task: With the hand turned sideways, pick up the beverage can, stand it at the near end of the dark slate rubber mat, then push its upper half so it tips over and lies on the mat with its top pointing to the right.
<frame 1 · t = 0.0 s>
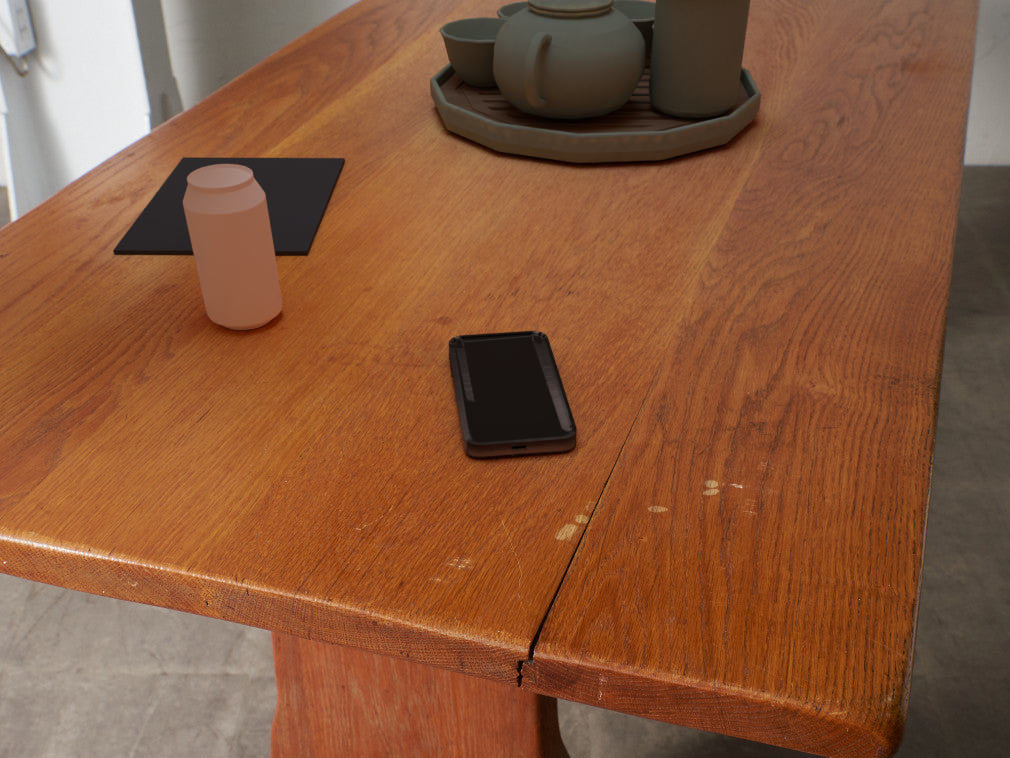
mat: (239, 203, 103), on the table
phone: (508, 398, 74), on the table
tea set: (590, 111, 125), on the table
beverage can: (247, 319, 84), on the table
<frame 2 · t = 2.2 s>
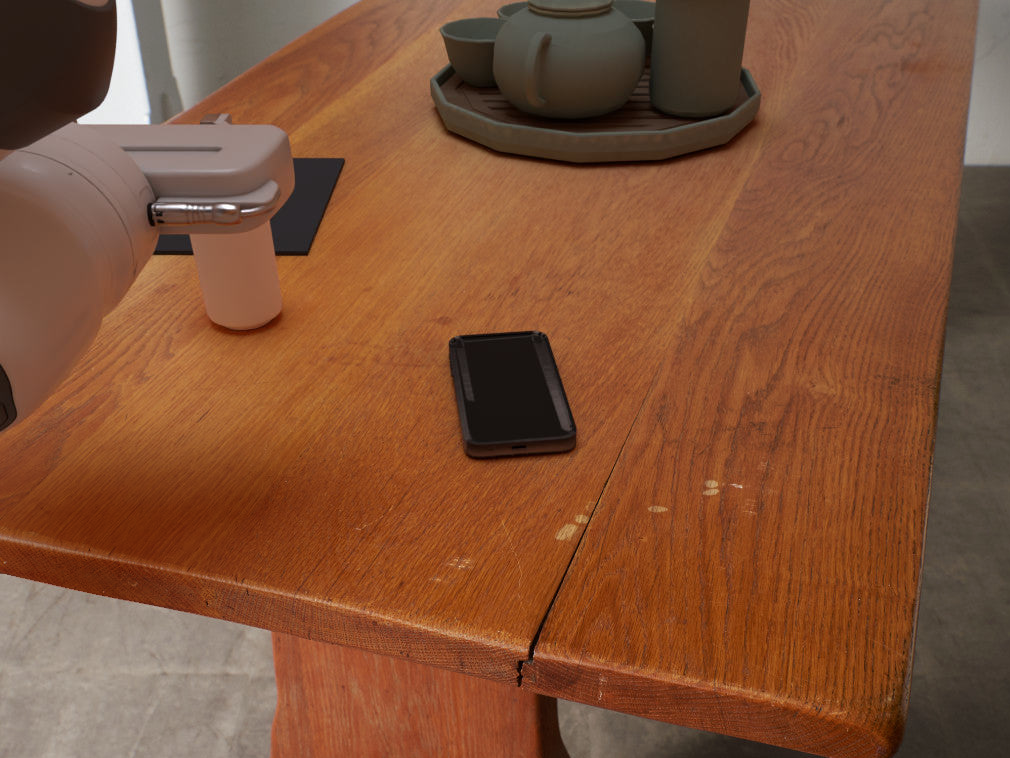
hand: (144, 126, 61), 20 cm above the table, tool horizontal, fingers open, 8 cm apart
nothing on the table moved.
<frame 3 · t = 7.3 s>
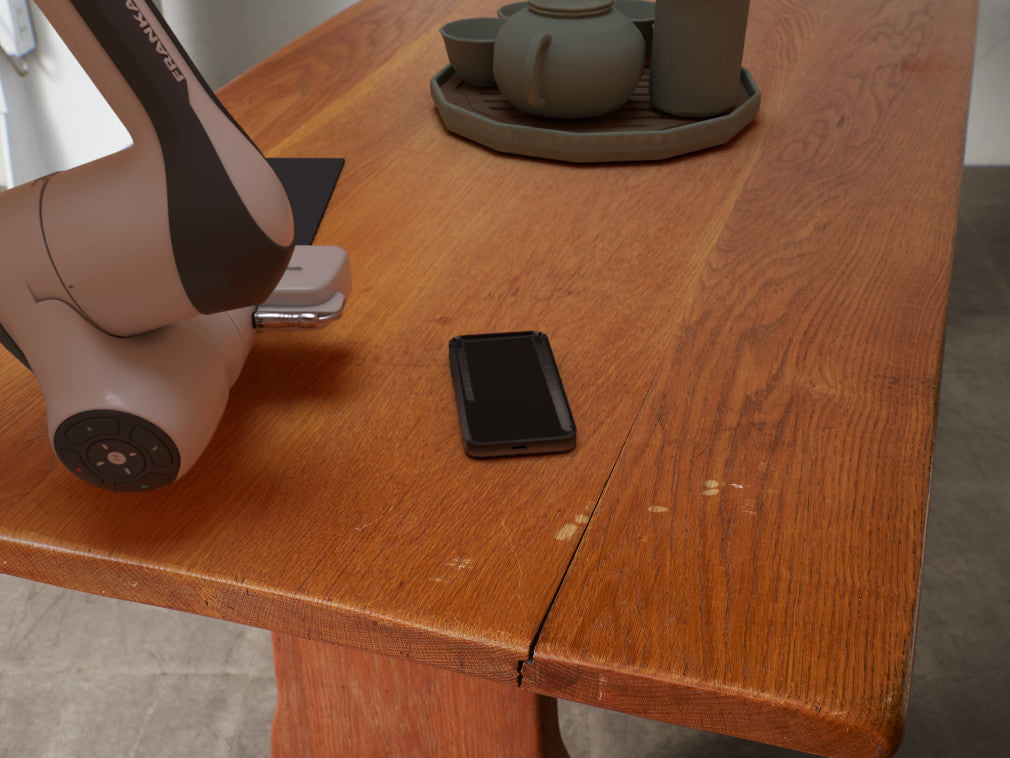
hand: (235, 238, 80), 7 cm above the table, tool horizontal, fingers closed on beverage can, 6 cm apart
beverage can: (247, 319, 84), on the table, touching gripper
everything else where it was.
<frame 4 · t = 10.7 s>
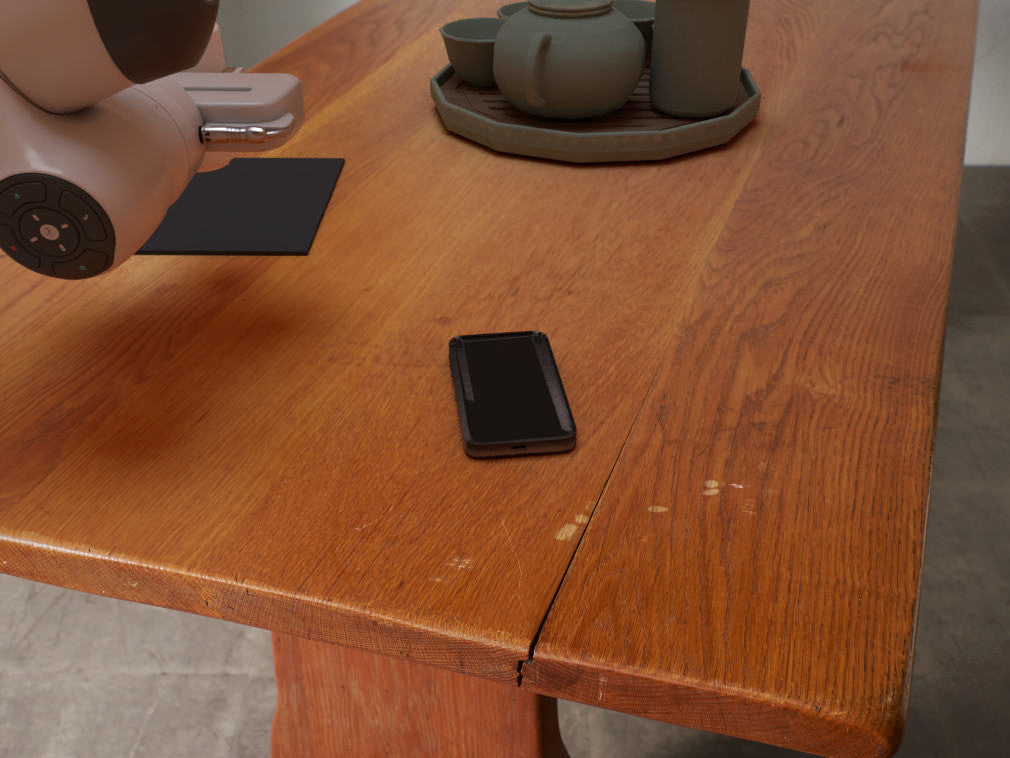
hand: (189, 77, 80), 17 cm above the table, tool horizontal, fingers closed on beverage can, 6 cm apart
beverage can: (203, 165, 83), point 10 cm above the table, touching gripper
everything else where it was.
when the fingers open (7 cm above the table, at t = 14.4 s): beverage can stays where it is, resting on mat.
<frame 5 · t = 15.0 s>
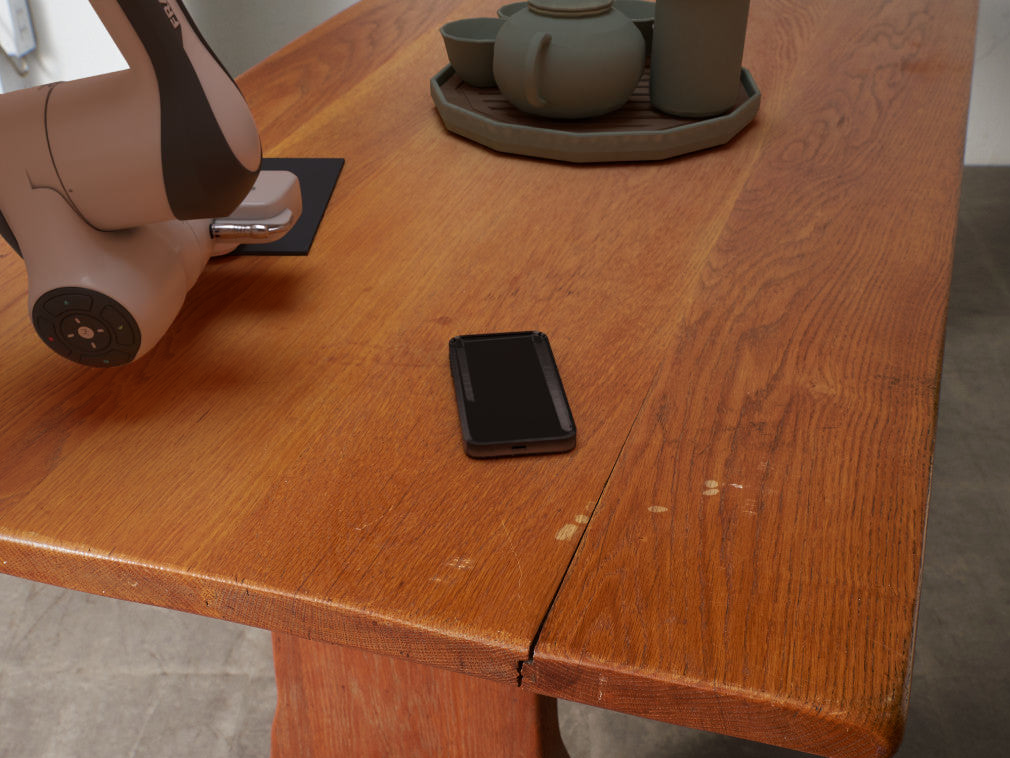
hand: (199, 169, 90), 7 cm above the table, tool horizontal, fingers open, 8 cm apart
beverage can: (214, 248, 94), resting on mat
everything else where it was.
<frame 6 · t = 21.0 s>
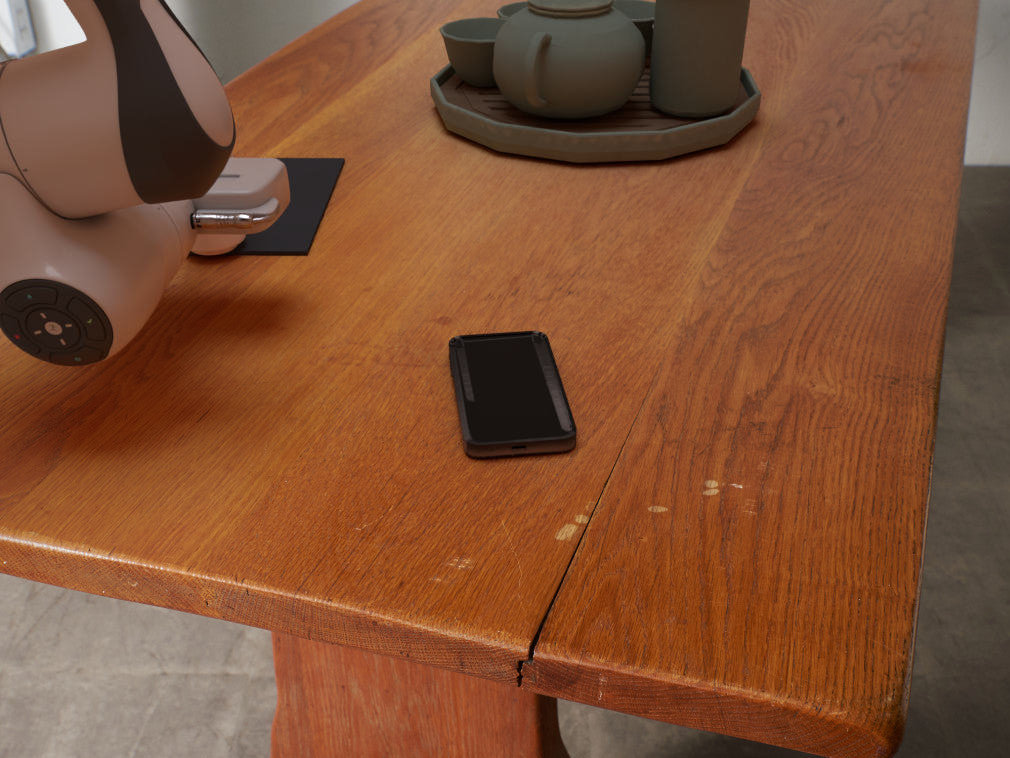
hand: (182, 156, 85), 10 cm above the table, tool horizontal, fingers closed, pressing on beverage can
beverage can: (214, 247, 94), resting on mat, touching gripper
everything else where it was.
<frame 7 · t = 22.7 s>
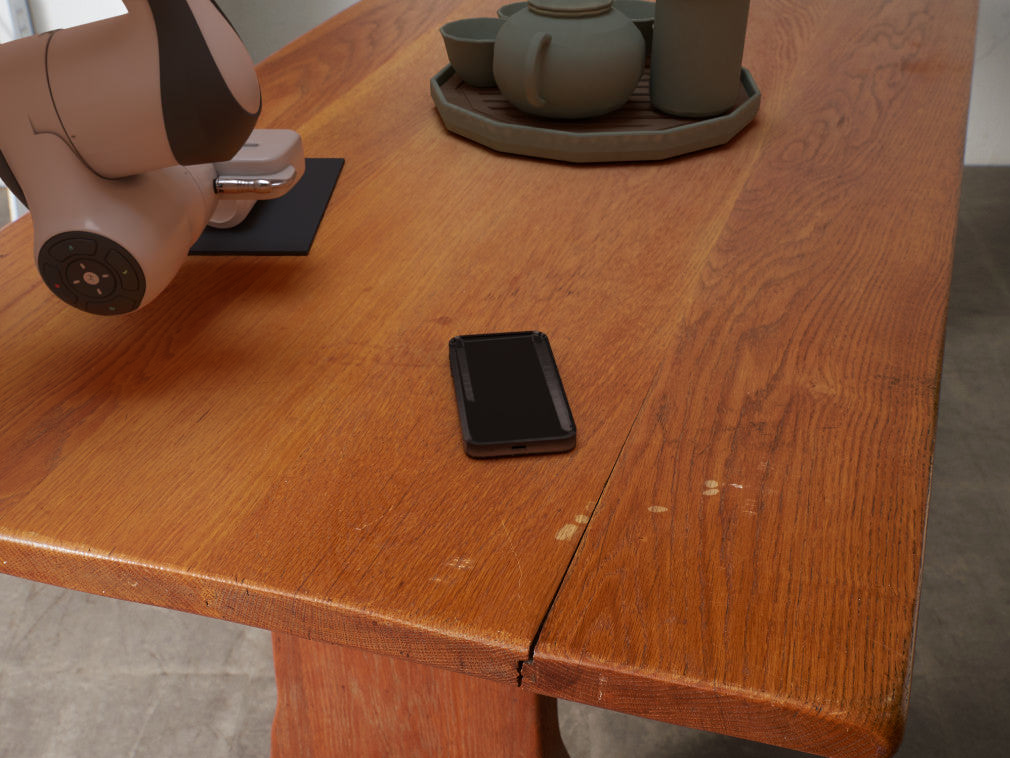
hand: (203, 129, 91), 10 cm above the table, tool horizontal, fingers closed
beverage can: (213, 201, 94), point 4 cm above the table, touching mat
everything else where it was.
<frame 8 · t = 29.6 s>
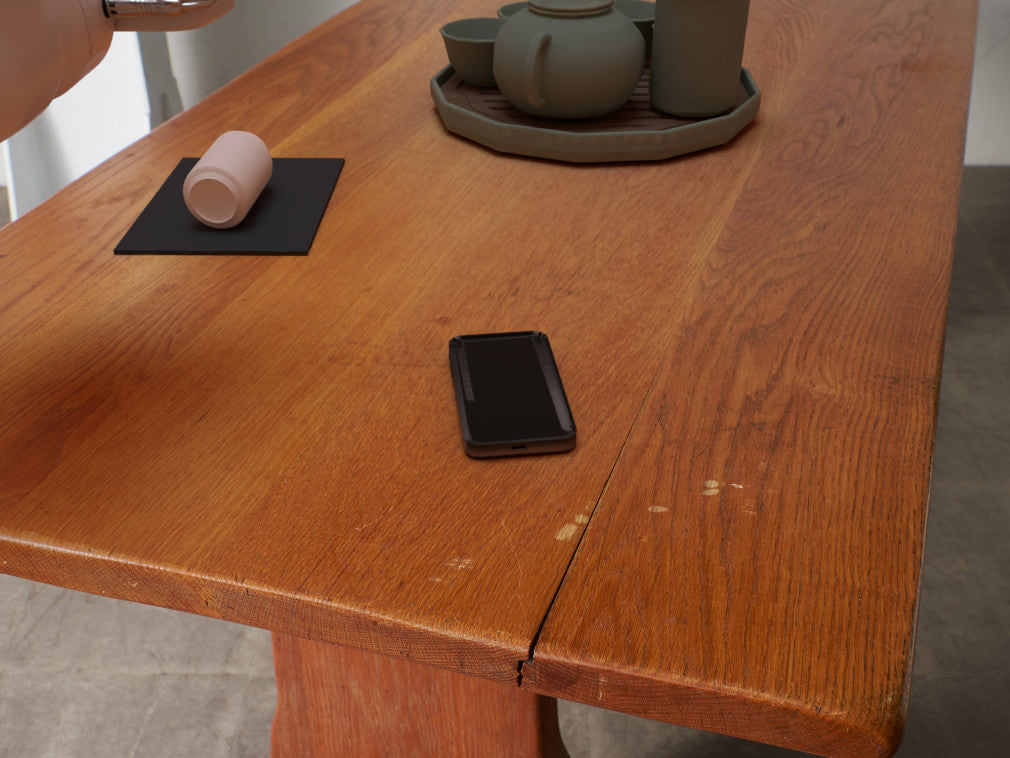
nothing on the table moved.
at the end: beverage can tilted 90°; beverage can inside the target area on the mat (1.7 cm from its centre), point 3.5 cm above the mat's base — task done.
